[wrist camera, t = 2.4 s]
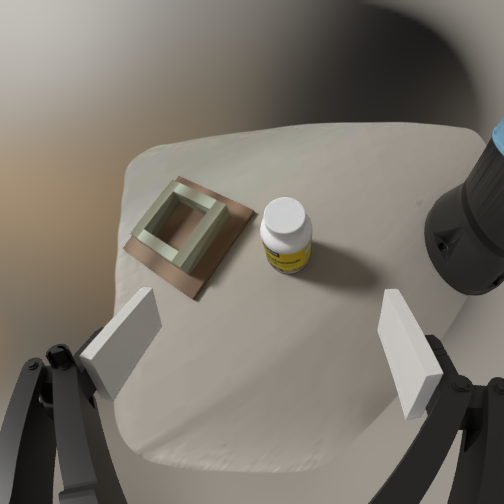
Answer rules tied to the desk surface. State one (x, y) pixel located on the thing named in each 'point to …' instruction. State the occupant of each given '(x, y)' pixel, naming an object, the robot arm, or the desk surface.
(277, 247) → the supplement bottle
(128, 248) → the socket board
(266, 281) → the desk surface
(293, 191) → the desk surface
